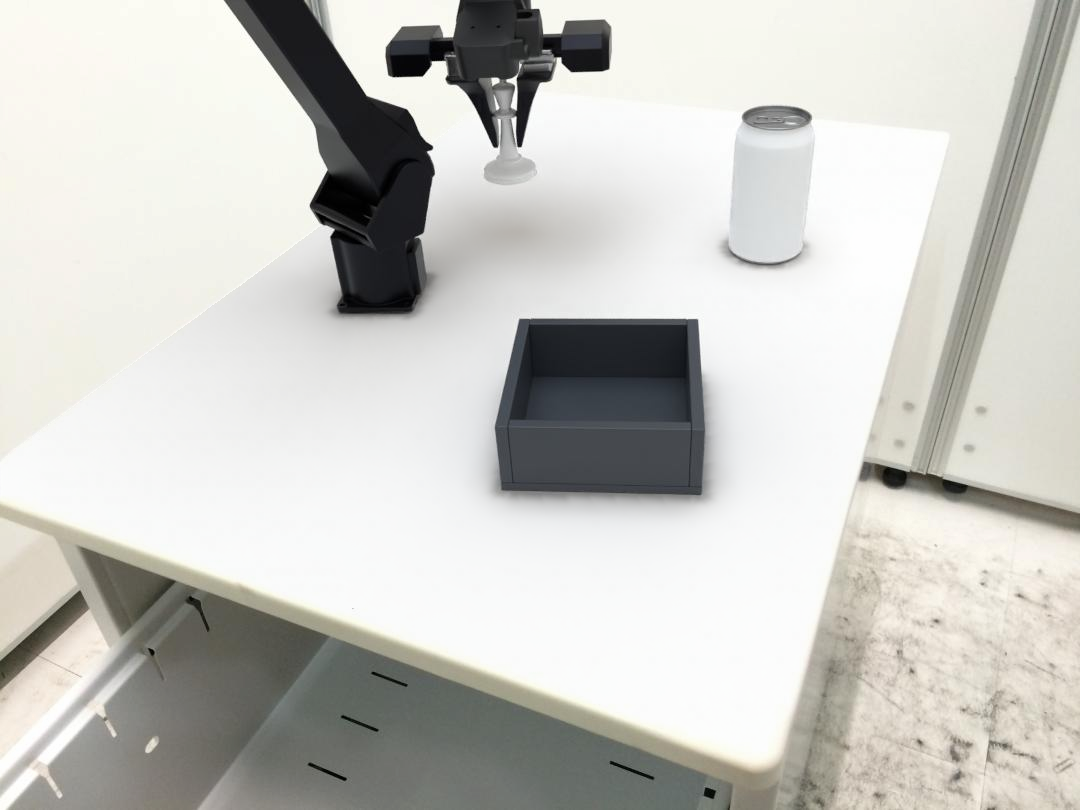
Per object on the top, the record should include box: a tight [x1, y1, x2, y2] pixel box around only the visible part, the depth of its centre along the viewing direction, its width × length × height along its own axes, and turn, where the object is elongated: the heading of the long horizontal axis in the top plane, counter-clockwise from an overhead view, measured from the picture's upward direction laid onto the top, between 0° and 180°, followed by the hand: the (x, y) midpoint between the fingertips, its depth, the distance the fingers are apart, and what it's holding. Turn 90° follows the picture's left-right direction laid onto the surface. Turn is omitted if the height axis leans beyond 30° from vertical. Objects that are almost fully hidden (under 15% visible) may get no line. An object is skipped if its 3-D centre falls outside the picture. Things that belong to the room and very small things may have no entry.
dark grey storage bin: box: [494, 317, 706, 495], centre depth 63 cm, size 13×13×5 cm
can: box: [728, 104, 816, 265], centre depth 80 cm, size 6×6×12 cm
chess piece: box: [483, 78, 538, 186], centre depth 83 cm, size 5×5×10 cm
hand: (508, 146), depth 85 cm, fingers closed on chess piece
